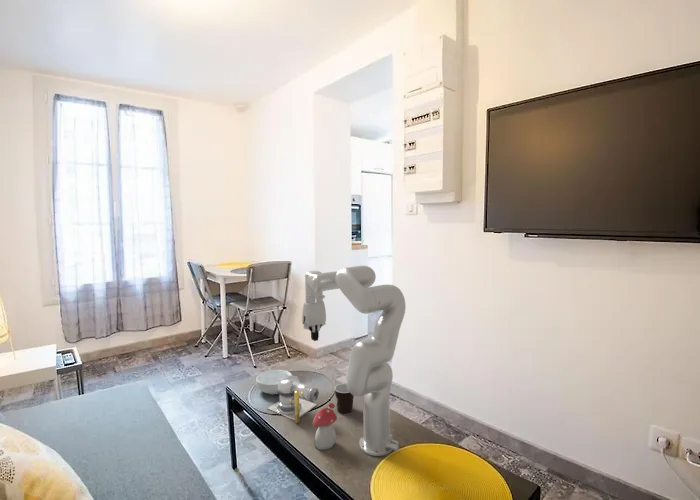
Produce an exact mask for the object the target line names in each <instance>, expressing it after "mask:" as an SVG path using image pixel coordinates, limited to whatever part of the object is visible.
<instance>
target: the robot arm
mask: <svg viewBox="0 0 700 500" xmlns="http://www.w3.org/2000/svg"><path fill="white" fill-rule="evenodd" d="M376 275H377V274H376V272H375V271H374V269H373V268H372V267H370V266H368V265H356V266H349V267H344V268H341V269H339V270H337V271H329V272H321V271H319V270H309V271H307V272H305V275H304V282H305V283H304V285H305V286H304V288H305V294H304V295H305V302H304V303H303V306H302V313H301V314H302V316H301V323H302V325H303V329H304V330H308V331H310V338H311V339H310V340H312V341H314V342H316V341H319V338H320V335H319V334H320V333H319V332H320V331H321V328H322V327H324V326H325V325H326V321H327V313H326V306H325V301H324V299H325V298H326V296H325V295H324V292H326V291H332V290H338V289H339V290H340V291H341V293H342V294H343V295H344V296H345V298H346V299H347V300H348V301H349V302H350V303H351V305H352V306H353V307H354V308H355V310H356V311H358V312H359V313H361V314H365V315H366V314H371V313H376V312H381V314H380V315H379V316H378V318H377V320H376V321H375V324H374V329H373V333H372V335H371V336H370V337H368V338H366V339H362V340H361V341H357V343H355V344H354V345H353V347H352V349H351V351H350V355H349V361H348V366H347V371H346V377H345V378H346V379H345V382H346V384H347V388H348V390H349V392H350V393H351V394H352V395H354V397H363V403H362V404H363V409H362V411H363V412H362V413H363V418H362V419H363V435H362V436H361V437H360V439H359V441H358V442H359V443H358V444H359V445H358V446H359V449H360V450H361V451H362V452H363V453H365V454H367V455H369V456H374V457H382V456H386V455H388V454H390V453H391V452H392V451H396V452H399V448H400V446H399V440H398V441H397V440H396V439H395V440H394V438H393V434H392V433H391V431H390V428H391V427H390V424H391V423H390V419H391V416H390V414H391V413H390V411H391V410H390V405H391V401H390V400H391V389H392V388H391V387H392V383H393V377H394V375H393V370H392V367H391V365H390V364H389V363H388V362H390V361H391V360H392V359H393V357H394V355H395V350H396V347H397V343H398V338H399V334H400V329H401V326H402V323H403V321H404V318H405V313H406V309H407V308H406V299H405V296H404V294H403V291H401V289H400V288H399V287H398V286H396V285H394V284H381V285H380V284H379V285H374V283H375V281H376V278H377V276H376ZM373 285H374V286H373Z"/></svg>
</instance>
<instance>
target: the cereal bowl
mask: <svg viewBox="0 0 700 500" xmlns="http://www.w3.org/2000/svg"><path fill="white" fill-rule="evenodd" d="M289 375H292V373H291V372H290V371H287V370H284V369H273V370H267V371H264V372H262V373H259V374H258V375H257V376H256V378H255V381H256V383H255V384H256V386H257V388H258V390H259V391H260V392H262V393H264V394H268V393H269V394H268V395H277V394H276V393H278V380H279V379H280V378H281V377H283V376H289Z"/></svg>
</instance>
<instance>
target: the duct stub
mask: <svg viewBox="0 0 700 500" xmlns="http://www.w3.org/2000/svg"><path fill="white" fill-rule="evenodd" d="M315 407H318V406H317V403H315V402H309V401H308V400H306V399H304V398H301V397H299V391H298V390H295V391H294V396H281V395H279V401H277V402H276V403H274V404H272V405H270V406H269V407H267V410H268V409H270V410H269V411H271V410H272V411H271V412H273V411H275V412H277V413H276V414H278V413H279V414H278V415H280V414H281V415H280V416H283V417H286V418H287V419H290V420H293V421H294V422H295V424H298V423H300V421H301V420H300V418H301V417H303V416H304V415H305V414H307V413H309V412H310V411H311V410H313V409H314V408H315ZM275 412H274V413H275Z"/></svg>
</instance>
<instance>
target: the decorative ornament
mask: <svg viewBox="0 0 700 500" xmlns="http://www.w3.org/2000/svg"><path fill="white" fill-rule="evenodd" d="M334 408H335V404H334V403H333V402H332V403H329V404H328V407H326V408H325V407H324V408H321V409H320V410H318V412H317V413H316V415H315V416H314V417H313V421H312V425H313V426H314V427H315V428H317V430H316V431H315V437H314V447H315V449H317V450H319V451H320V450H322V451H326V450H329V449H332V448H333V447H334V445H335V442H336V436H337V434H336V429H335V428H334V426H333V425H334V423H335V422H336V421H337V420H338V417H337V414H336V413H335V411H334Z"/></svg>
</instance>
